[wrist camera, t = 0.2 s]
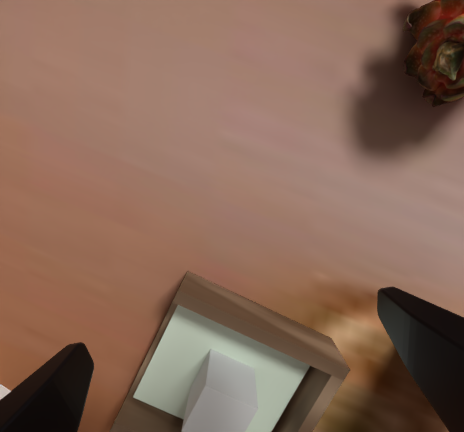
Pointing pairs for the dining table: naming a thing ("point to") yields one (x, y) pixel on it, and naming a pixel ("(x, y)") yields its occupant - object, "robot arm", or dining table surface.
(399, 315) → the robot arm
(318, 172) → the dining table surface
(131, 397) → the walnut box
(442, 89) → the dragon fruit
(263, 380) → the cover plate
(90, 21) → the dining table surface
